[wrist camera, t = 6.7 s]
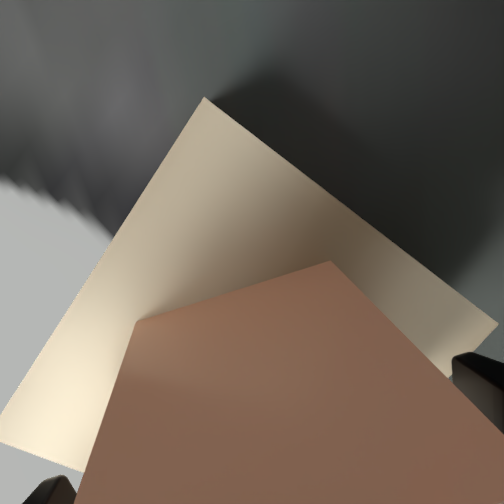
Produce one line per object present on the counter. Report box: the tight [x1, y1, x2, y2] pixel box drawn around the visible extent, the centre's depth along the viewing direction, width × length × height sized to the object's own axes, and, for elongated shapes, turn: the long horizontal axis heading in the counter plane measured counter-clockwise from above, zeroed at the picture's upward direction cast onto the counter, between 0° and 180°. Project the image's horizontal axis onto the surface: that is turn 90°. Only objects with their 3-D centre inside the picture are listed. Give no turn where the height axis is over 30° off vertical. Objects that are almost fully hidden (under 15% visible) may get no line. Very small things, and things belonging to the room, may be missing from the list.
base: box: [0, 97, 498, 473], centre depth 11 cm, size 10×10×3 cm
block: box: [74, 260, 504, 504], centre depth 7 cm, size 5×5×6 cm
